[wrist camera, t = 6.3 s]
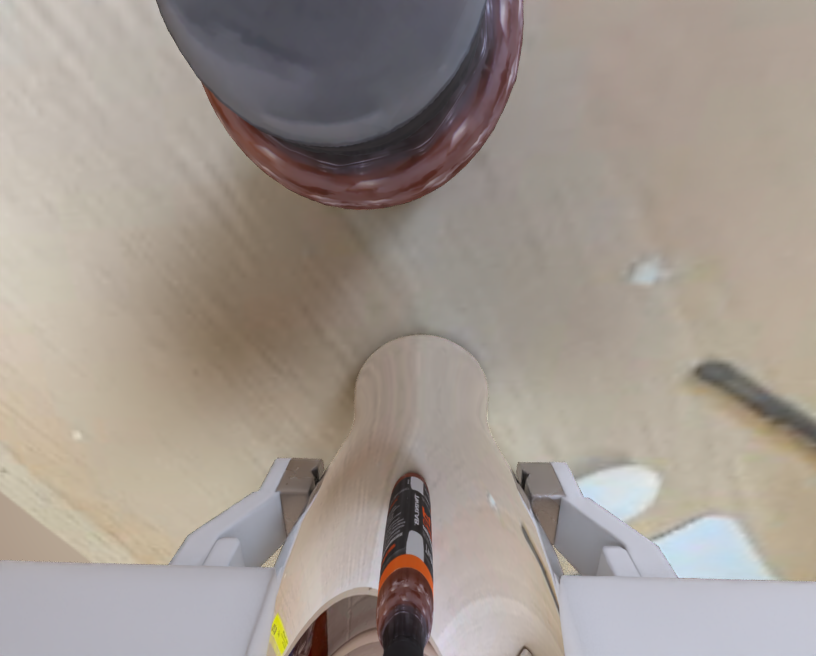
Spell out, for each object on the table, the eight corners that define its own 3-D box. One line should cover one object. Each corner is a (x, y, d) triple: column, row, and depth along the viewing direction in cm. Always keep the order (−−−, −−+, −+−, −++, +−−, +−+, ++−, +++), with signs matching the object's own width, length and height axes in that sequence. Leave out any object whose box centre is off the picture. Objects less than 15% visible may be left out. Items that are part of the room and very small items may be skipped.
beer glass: (330, 433, 20) (95, 1068, 6) (369, 302, 17) (132, 845, 3) (465, 473, 20) (555, 1147, 6) (522, 351, 18) (879, 1002, 4)
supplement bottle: (461, 202, 16) (534, 253, 6) (311, 190, 16) (96, 218, 6) (482, 20, 14) (663, -463, 3) (309, 8, 14) (-42, -509, 3)
